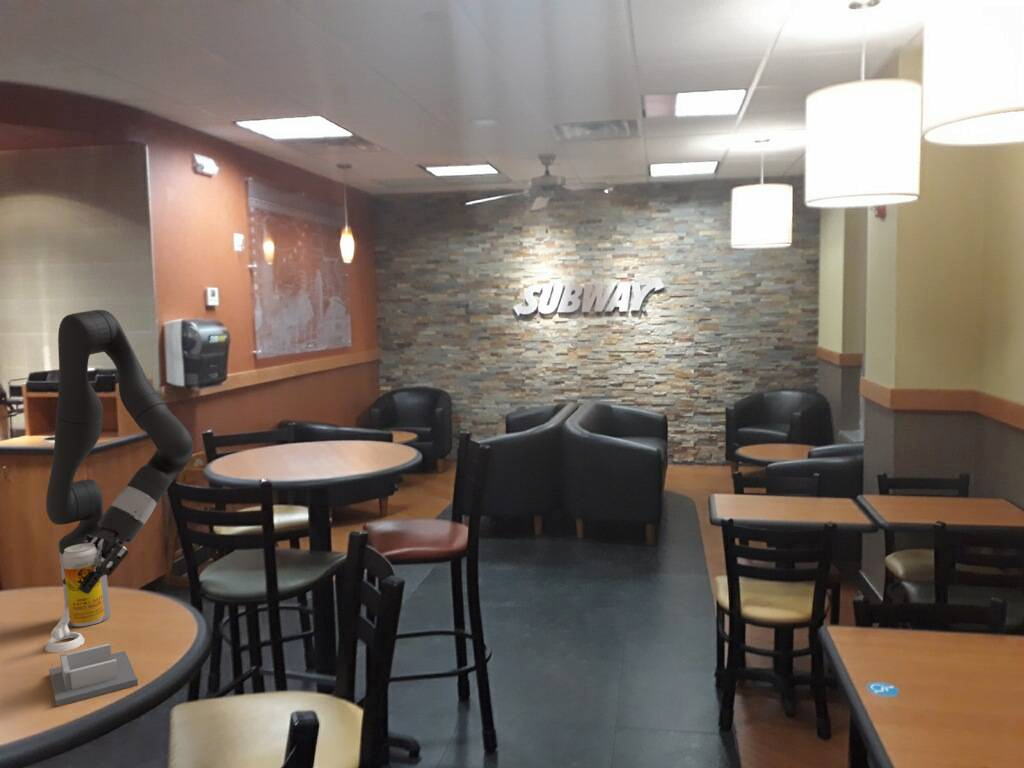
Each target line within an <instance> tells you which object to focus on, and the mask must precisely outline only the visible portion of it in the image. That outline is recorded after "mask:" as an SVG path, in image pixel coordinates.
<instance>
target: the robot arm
mask: <svg viewBox="0 0 1024 768" xmlns="http://www.w3.org/2000/svg"><path fill="white" fill-rule="evenodd" d="M57 336H58V337H57V342H58V344H57V345H58V349H57V350H58V369H59V370H58V372H59V373H58V378H59V379H58V395H57V397H58V398H57V405H56V406H57V407H56V415H55V423H54V424H55V426H54V444H53V445H54V446H53V447H54V448H53V457H52V464H51V469H50V474H49V475H50V476H49V479H48V480H49V481H48V485H47V489H46V490H47V492H46V499H45V501H46V502H45V506H46V514H47V517H48V519H49V520H50V522H51V523H53V524H54V525H57V526H61V525H67V524H72V523H76V522H78V524H77V526H76V527H75V528H74V529H72V530H71V532H69V533H67V534H66V535H64V536H63V537H62V538H60V539H59V541H58V551H59V561H60V567H61V568H60V569H61V578H62V587H63V598H64V607H65V608H64V609H65V610H64V611H66V609H67V607H68V600H67V591H66V582H65V573H64V564H63V554H64V550H65V549H66V548H68V547H70V546H73V545H78V544H85V543H91V544H94V545H95V547H96V548H97V554H96V557H95V563H94V565H93V567H92V570H91V571H92V572H89V574H88V575H87V576H86V578H85V579H84V580H83V582H82V583H81V585H80V586H79V590H80V591H82V592H84V593H86V594H88V593H90V592H91V590H92V589H93V587H94V586H95V584H96V583H97V582H98V580H99V579H100V577H101V586H102V595H103V604H104V616H103V617H102V620H101V621H99V622H98V623H99V624H100V623H102V622H104V621H105V620H107V619H109V618H110V616H111V606H110V596H109V586H108V585H109V584H108V577H109V576H111V575H112V574H113V573H114V571H116V569H117V568H118V567H119V565H120V564H121V563H122V561H123V560H124V559H125V558H126V557H127V555H128V554H129V552H130V549H129V548H127V547H126V546H124V543H127V544H129V543H132V542H133V541H134V539H136V536H137V535H138V534H139V533H140V531H141V529H142V528H143V526H144V525H145V524H146V523H147V522H148V520H149V518H150V517H151V515H152V513H153V512H154V509H155V508H156V506H157V505H158V503H159V502H160V500H161V498H162V497H164V495H165V493H166V492H167V490H168V488H169V487H170V485H171V484H172V483H173V481H175V479H177V477H178V476H179V475H180V474H181V473H182V471H184V469H185V468H186V466H187V465H189V462H190V461H191V459H192V457H193V453H194V440H193V436H192V435H191V434H190V432H189V430H188V429H187V428H186V426H184V425H183V423H182V422H181V420H179V419H178V418H177V417H176V416H175V415H174V414H173V413H172V412H171V410H170V409H169V407H168V405H167V404H166V402H165V401H164V400H163V399H162V397H161V396H160V394H159V393H158V392H157V390H156V389H155V387H153V385H152V383H151V382H150V380H149V379H148V376H146V373H145V372H144V370H143V368H142V366H141V364H140V362H139V359H138V358H137V355H136V353H135V351H134V349H133V347H132V345H131V343H130V341H129V339H128V337H127V336H126V333H125V332H124V329H123V328H122V326H121V324H120V323H119V321H118V319H117V318H116V317H115V315H113V314H112V313H111V312H110V311H107V310H105V309H95V310H86V311H80V312H76V313H70V314H67V315H65V316H64V317H63V318H62V320H61V321H60V324H59V327H58V335H57ZM100 353H105V354H106V355H107V356H108V357H109V358H110V360H111V361H112V363H113V364H114V366H115V369H116V372H117V377H118V379H117V380H118V392H119V393H118V394H119V397H120V400H121V403H122V404H123V407H124V408H125V410H126V411H127V412H128V414H129V415H130V417H131V418H132V420H133V421H134V422H135V424H136V425H137V426H138V427H139V429H140V430H142V431H143V432H145V433H146V434H147V435H148V437H149V438H150V440H151V441H152V443H153V444H154V446H155V447H156V451H155V453H154V454H153V455H152V457H151V458H150V459H149V460H148V462H147V464H146V465H143V466H141V467H140V468H139V469H138V470H137V471H136V472H135V474H133V476H132V477H131V479H130V481H128V483H127V484H126V486H125V487H124V489H123V490H122V491H120V492H119V494H118V495H117V496H116V497H115V499H114V500H113V502H111V504H110V506H108V508H107V510H106V511H105V512H104V501H103V493H102V490H101V487H100V486H99V484H98V482H97V481H96V480H94V479H91V478H87V479H79V480H76V481H75V476H76V474H77V471H78V469H79V468H80V467H81V464H83V462H84V461H85V459H86V458H87V457H88V455H89V454H90V453H91V452H92V450H93V449H94V447H96V445H97V443H98V441H99V439H100V437H101V435H102V426H103V417H104V408H103V404H102V401H101V400H100V397H99V396H98V394H97V392H96V391H95V389H94V388H93V386H92V384H91V383H90V380H89V377H88V374H89V373H88V372H89V371H88V367H89V358H90V356H91V355H94V354H95V355H96V354H100ZM107 576H108V577H107ZM98 623H95V624H98ZM95 624H94V625H95ZM67 625H68V627H78V628H79V626H74V625H73V623H71V622H70V620H69V622H68V624H67Z"/></svg>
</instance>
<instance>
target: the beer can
mask: <svg viewBox="0 0 1024 768" xmlns="http://www.w3.org/2000/svg"><path fill="white" fill-rule="evenodd" d="M96 554H97V548H96V547H95V545H94V544H91V543H85V544H78V545H73V546H70V547H68V548H66V549H65V550H64V554H63V564H64V573H65V582H66V591H67V600H68V608H69V617H70V622H71V623H73V625H74V626H73V627H76V626H78V627H86V626H87V627H88V626H92V625H95V623H96V624H98V622H99V621H101V620H102V617H103V616H104V604H103V595H102V586H101V577H100V579H99V580H98V582H97V583H96V584H95V586H94V587H93V589H92V590H91V592H90V593H88V594H86V593H84V592H82V591H80V590H79V586H80V585H81V583H82V582H83V580H84V579H85V578H86V576H87V575H88V574H89V572H92V571H91V570H92V567H93V565H94V563H95V557H96ZM99 623H100V622H99Z"/></svg>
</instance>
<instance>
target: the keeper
mask: <svg viewBox="0 0 1024 768" xmlns="http://www.w3.org/2000/svg"><path fill="white" fill-rule="evenodd" d="M59 657H60V666H58V667H53V668H49V670H48V671H49V678H50V684H51V688H52V692H53V698H54V701H55V706H56V708H58V707H60V706H64V705H69V704H71V703H75V702H79V701H84V700H86V699H90V698H94V697H98V696H101V695H102V696H103V695H105V694H109V693H113V692H116V691H120V690H124V689H127V688H131V687H135V686H139V681H138V677H137V675H136V673H135V671H134V668H133V666H132V664H131V661H130V659H129V656H128V655H127V652H126V651H125V650H122V651H119V652H114V653H112V649H111V644H110V643H105V644H101V645H97V646H94V647H89V648H85V649H84V648H83V649H81V650H77V651H76V650H75V651H72V652H68V653H65V654H60V655H59Z"/></svg>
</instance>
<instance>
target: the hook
mask: <svg viewBox="0 0 1024 768" xmlns="http://www.w3.org/2000/svg"><path fill="white" fill-rule="evenodd" d="M69 620H70V617H69V608H68V607H67V609H66V610H64V613H63V614H62V616H61V618H60V620H59V621H58V623H57V624H56V626H54V628H53V629H52V631H51V632H50V635H51V637H50V638H49V639H48V640H47V642H46V645H45V648H44V650H45V651H46V652H48V653H62V652H63V653H64V652H68V651H72V650H74V648H75V649H76V648H79V647H80V645H81V646H82V645H83V644H84V643H85V642H86V641H85V640H86V639H85V638H84V636H83V635H82V634H81V633H79V632H77V631H72V632H71V630H70V629H69V625H68V622H69ZM69 639H71V640H70V641H66V642H62V643H61V641H65V640H69ZM72 639H73V640H72ZM84 641H85V642H84ZM57 642H60V643H57ZM71 649H72V650H71Z"/></svg>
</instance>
